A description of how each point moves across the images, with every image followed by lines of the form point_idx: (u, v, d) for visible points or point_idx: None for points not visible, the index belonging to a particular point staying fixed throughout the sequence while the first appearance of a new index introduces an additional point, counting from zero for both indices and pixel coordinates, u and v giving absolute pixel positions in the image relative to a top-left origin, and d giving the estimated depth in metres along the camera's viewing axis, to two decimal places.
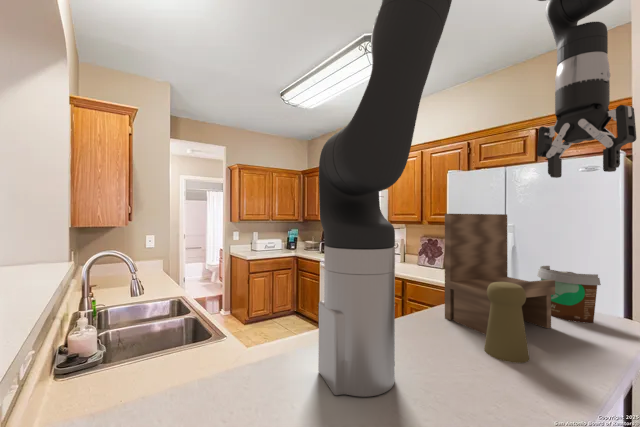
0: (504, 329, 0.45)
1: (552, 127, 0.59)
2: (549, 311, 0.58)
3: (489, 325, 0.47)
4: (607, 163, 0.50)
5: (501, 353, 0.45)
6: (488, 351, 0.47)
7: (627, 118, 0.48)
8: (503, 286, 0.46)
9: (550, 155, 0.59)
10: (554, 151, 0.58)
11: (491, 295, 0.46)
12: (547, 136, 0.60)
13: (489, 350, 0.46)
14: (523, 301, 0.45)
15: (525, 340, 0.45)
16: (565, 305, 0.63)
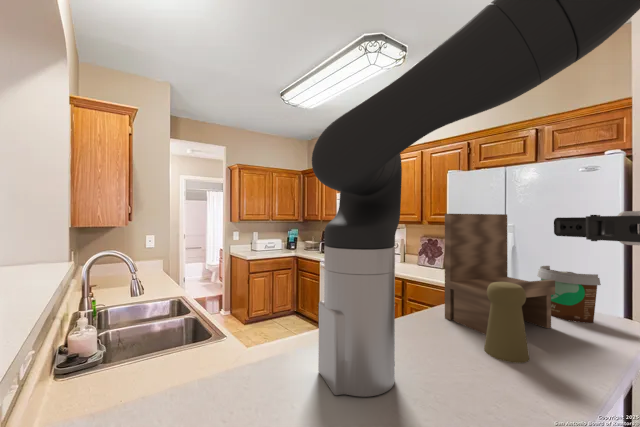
0: (504, 329, 0.45)
1: None
2: (549, 311, 0.58)
3: (489, 325, 0.47)
4: None
5: (501, 353, 0.45)
6: (488, 351, 0.47)
7: (629, 220, 0.28)
8: (503, 286, 0.46)
9: None
10: None
11: (491, 295, 0.46)
12: None
13: (489, 350, 0.46)
14: (523, 301, 0.45)
15: (525, 340, 0.45)
16: (565, 305, 0.63)
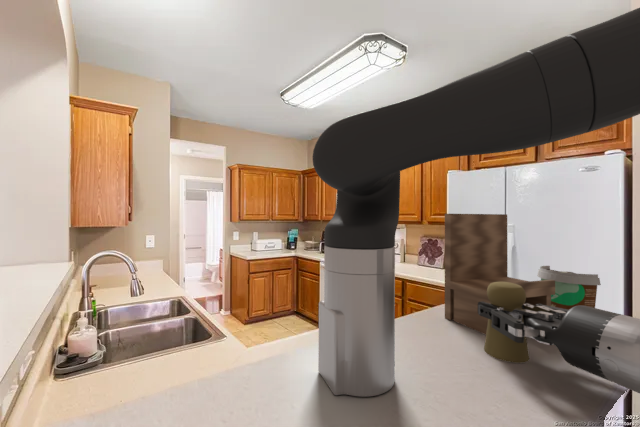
0: None
1: None
2: None
3: (489, 325, 0.47)
4: (484, 303, 0.48)
5: (501, 353, 0.45)
6: (488, 351, 0.47)
7: (504, 320, 0.40)
8: (503, 286, 0.46)
9: (525, 304, 0.46)
10: (530, 307, 0.45)
11: (491, 295, 0.46)
12: None
13: (489, 350, 0.46)
14: (523, 301, 0.45)
15: (525, 340, 0.45)
16: (565, 305, 0.63)
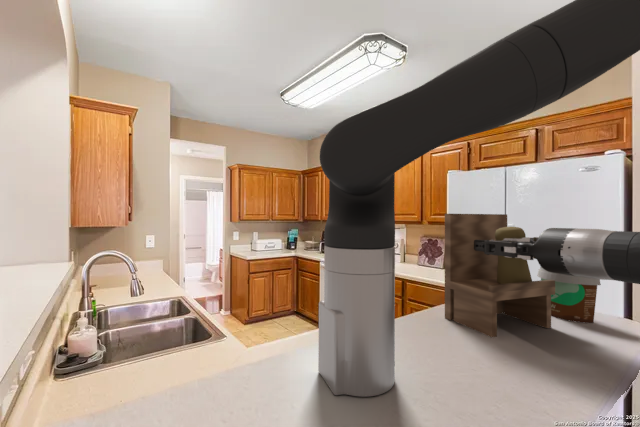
0: (511, 262, 0.58)
1: None
2: (549, 311, 0.58)
3: (499, 261, 0.60)
4: (479, 240, 0.60)
5: (510, 280, 0.58)
6: (500, 281, 0.60)
7: (500, 244, 0.52)
8: (507, 229, 0.59)
9: None
10: None
11: (499, 237, 0.60)
12: None
13: (501, 280, 0.60)
14: None
15: (528, 268, 0.58)
16: (565, 305, 0.63)
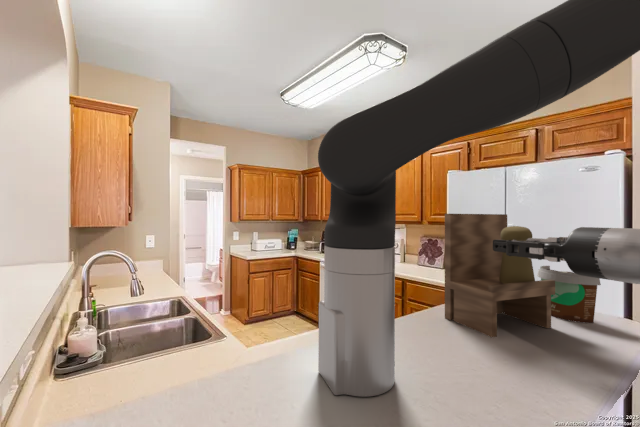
0: (516, 263, 0.57)
1: None
2: (549, 311, 0.58)
3: (503, 261, 0.59)
4: (498, 240, 0.56)
5: (514, 281, 0.58)
6: (503, 281, 0.59)
7: (525, 245, 0.48)
8: (514, 230, 0.57)
9: None
10: None
11: (505, 238, 0.58)
12: None
13: (504, 280, 0.59)
14: None
15: (532, 269, 0.58)
16: (565, 305, 0.63)
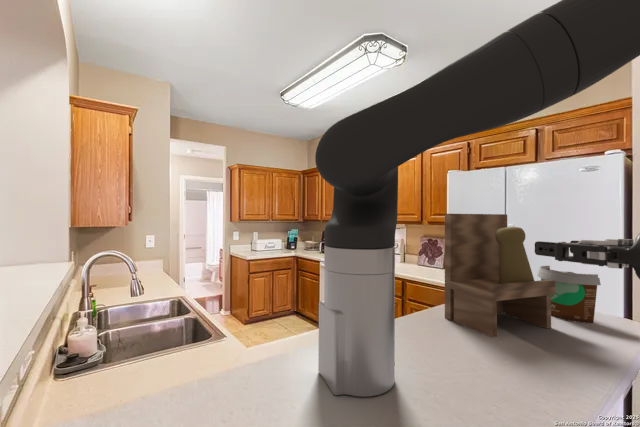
0: (514, 260, 0.58)
1: None
2: (549, 311, 0.58)
3: (501, 261, 0.60)
4: (542, 242, 0.48)
5: (515, 279, 0.58)
6: (504, 281, 0.59)
7: (582, 248, 0.41)
8: (508, 228, 0.60)
9: None
10: None
11: (500, 236, 0.60)
12: None
13: (505, 280, 0.59)
14: (524, 237, 0.59)
15: None
16: (565, 305, 0.63)
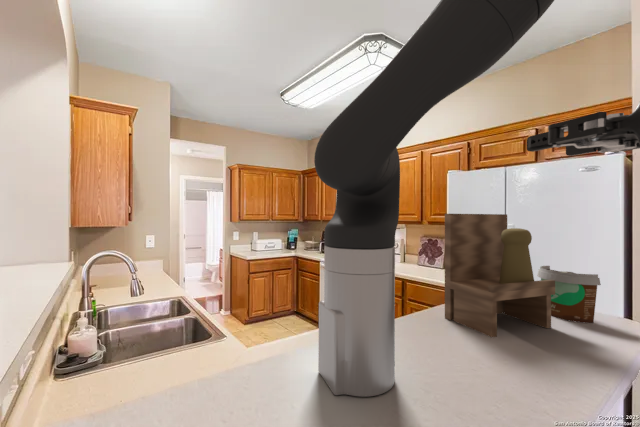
0: (518, 263, 0.58)
1: None
2: (549, 311, 0.58)
3: (505, 262, 0.60)
4: (535, 135, 0.43)
5: (517, 281, 0.58)
6: (505, 282, 0.59)
7: (578, 121, 0.36)
8: (516, 230, 0.59)
9: None
10: None
11: (507, 238, 0.59)
12: None
13: (506, 281, 0.59)
14: (530, 240, 0.58)
15: None
16: (565, 305, 0.63)
